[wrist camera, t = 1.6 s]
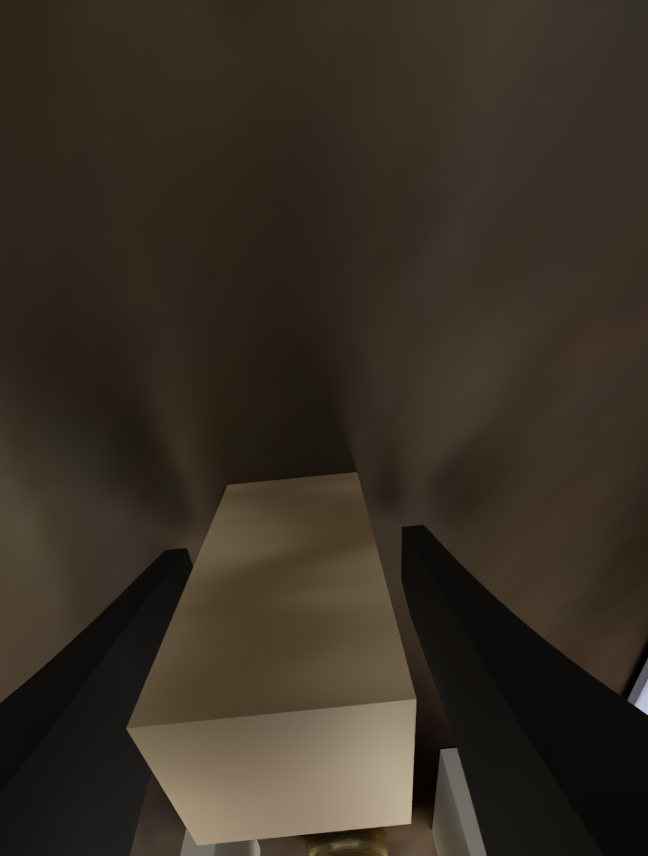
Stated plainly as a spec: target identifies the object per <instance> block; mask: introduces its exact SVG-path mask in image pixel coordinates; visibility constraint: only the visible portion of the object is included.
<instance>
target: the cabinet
mask: <svg viewBox="0 0 648 856" xmlns="http://www.w3.org/2000/svg"><path fill="white" fill-rule="evenodd" d="M432 834H433V838H434V842H435V847H436V851H437V856H487V855H486V851H485V848H484V844H483V840H482V837H481V833H480V830H479V826H478V822H477V819H476V815H475V811H474V808H473V804H472V800H471V797H470V793H469V789H468V786H467V782H466V779H465V775H464V772H463V768H462V765H461V761H460V758H459V754H458V751H457V748H450V749H440V759H439V768H438V778H437V787H436V797H435V806H434V815H433V825H432ZM180 856H260V846H259V844H258V842H257V839H256V840H246V841H236V842H227V843H217V844H207V845H197V844H196V842H195V841H194V839H193V838H192V836H191V834H190V833H189V831H188V829H187V828H186V832H185V837H184V841H183V845H182V850H181V854H180Z"/></svg>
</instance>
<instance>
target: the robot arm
mask: <svg viewBox="0 0 648 856" xmlns="http://www.w3.org/2000/svg"><path fill="white" fill-rule="evenodd" d="M192 569H193V565H192V562H191V559H190V556H189V553H188V550H187V548H184V549H174V550H165V551H164V552H163V553H162V554H161V555H160V556H159V557H158V558H157V559H156V560H155V561H154V562H153V563H152V564H151V565H150V566H149V567H148V568H147V569H146V570H145V571H144V572H143V573H142V574H141V575H140V576H139V577H138V578H137V579H136V580H135V581H134V582H133V583H132V584H131V585H130V586H129V587H128V588H127V589H126V590H125V591H124V592H123V593H122V594H121V595H120V596H119V597H118V598H117V599H116V600H115V601H113V602H112V603H111V604H110V605H109V606H108V607H107V608H106V609H105V610H104V611H103V612H102V613H101V614H100V615H99V616H98V617H97V618H96V619H95V620H94V621H93V622H92V623H91V624H90V625H89V626H87V627H86V628H85V629H84V630H83V631H82V632H81V633H80V634H79V635H78V636H77V637H76V638H74V639H73V640H72V641H71V642H70V643H69V644H68V645H67V646H66V647H65V648H64V649H63V650H61V651H60V652H59V653H58V654H57V655H56V656H55V657H54V658H53V659H52V660H51V661H49V662H48V663H47V664H46V665H45V666H44V667H43V668H41V669H40V670H39V671H38V672H37V673H36V674H35V675H33V676H32V677H31V678H30V679H29V680H28V681H26V682H25V683H24V684H23V685H22V686H20V687H19V688H18V689H17V690H16V691H14V692H13V693H12V694H11V695H10V696H8V697H7V698H6V699H5V700H4V701H2V702H1V703H0V856H130V852H131V848H132V843H133V839H134V835H135V831H136V827H137V823H138V819H139V815H140V811H141V807H142V804H143V800H144V796H145V792H146V788H147V785H148V781H149V777H150V773H151V768H150V767H149V765H148V764H147V762H146V760H145V759H144V757H143V755H142V754H141V752H140V750H139V749H138V747H137V745H136V744H135V742H134V741H133V739H132V737H131V736H130V734H129V732H128V731H127V729H126V728H127V725H128V723H129V721H130V718H131V716H132V713H133V711H134V709H135V706H136V704H137V701H138V699H139V697H140V694H141V692H142V689H143V687H144V685H145V682H146V680H147V677H148V675H149V673H150V670H151V668H152V665H153V663H154V661H155V658H156V656H157V653H158V651H159V649H160V646H161V644H162V641H163V639H164V637H165V634H166V632H167V629H168V627H169V624H170V622H171V620H172V617H173V615H174V612H175V610H176V608H177V605H178V603H179V600H180V598H181V596H182V593H183V591H184V588H185V586H186V584H187V581H188V579H189V576H190V574H191V572H192ZM401 580H402V584H403V588H404V592H405V596H406V600H407V604H408V607H409V611H410V615H411V618H412V621H413V624H414V627H415V629H416V632H417V635H418V638H419V640H420V643H421V646H422V649H423V652H424V654H425V657H426V660H427V662H428V665H429V668H430V671H431V673H432V676H433V679H434V682H435V684H436V687H437V690H438V692H439V695H440V698H441V701H442V703H443V706H444V709H445V712H446V715H447V718H448V721H449V724H450V727H451V730H452V733H453V737H454V740H455V744H456V747H457V751H458V754H459V758H460V761H461V765H462V768H463V772H464V775H465V779H466V782H467V786H468V789H469V793H470V797H471V800H472V804H473V808H474V811H475V815H476V819H477V822H478V826H479V830H480V833H481V837H482V840H483V844H484V848H485V851H486V855H487V856H648V658H647V660H646V662H645V664H644V666H643V668H642V671H641V673H640V675H639V677H638V679H637V681H636V683H635V685H634V687H633V689H632V691H631V693H630V695H629V697H628V699H627V700H626V699H624V698H623V697H621V696H620V695H618V694H617V693H616V692H614V691H613V690H611V689H610V688H608V687H607V686H606V685H604V684H603V683H601V682H600V681H598V680H597V679H596V678H594V677H593V676H592V675H590V674H589V673H588V672H586V671H585V670H584V669H582V668H581V667H580V666H578V665H577V664H576V663H574V662H573V661H572V660H570V659H569V658H568V657H566V656H565V655H564V654H562V653H561V652H560V651H559V650H557V649H556V648H555V647H554V646H552V645H551V644H550V643H549V642H547V641H546V640H545V639H543V638H542V637H541V636H540V635H539V634H537V633H536V632H535V631H534V630H533V629H531V628H530V627H529V626H528V625H527V624H525V623H524V622H523V621H522V620H521V619H520V618H518V617H517V616H516V615H515V614H514V613H513V612H512V611H510V610H509V609H508V608H507V607H506V606H505V605H504V604H502V603H501V602H500V601H499V600H498V599H497V598H496V597H495V596H494V595H493V594H491V593H490V592H489V591H488V590H487V589H486V588H485V587H484V586H483V585H482V584H481V583H480V582H479V581H478V580H477V579H476V578H475V577H474V576H473V575H472V574H471V573H469V572H468V571H467V570H466V569H465V568H464V567H463V566H462V565H461V564H460V563H459V562H458V561H457V560H456V559H455V557H454V556H453V555H452V554H451V553H450V552H449V551H448V550H447V549H446V548H445V547H444V546H443V545H442V544H441V543H440V542H439V541H438V540H437V539H436V537H435V536H434V535H433V534H432V533H431V532H430V531H429V530H428V529H427V528H426V527H425V526H424V525H417V526H407V527H402V571H401Z"/></svg>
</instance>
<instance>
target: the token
mask: <svg viewBox="0 0 648 856" xmlns="http://www.w3.org/2000/svg"><path fill="white" fill-rule="evenodd" d="M306 856H388V850H387V843H386V836H385V829H384V827H373V828H364V829H354V830H344V831H334V832H325V833H315V834H307V835H306Z"/></svg>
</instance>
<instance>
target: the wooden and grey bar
mask: <svg viewBox="0 0 648 856" xmlns="http://www.w3.org/2000/svg"><path fill="white" fill-rule="evenodd" d="M415 721H416V695H415V692H414V688H413V684H412V680H411V676H410V673H409V669H408V665H407V661H406V657H405V653H404V650H403V646H402V642H401V638H400V634H399V630H398V627H397V623H396V619H395V615H394V611H393V607H392V604H391V600H390V596H389V592H388V588H387V584H386V581H385V577H384V573H383V569H382V565H381V562H380V558H379V554H378V550H377V546H376V542H375V539H374V535H373V531H372V527H371V523H370V519H369V516H368V512H367V508H366V504H365V500H364V496H363V493H362V489H361V485H360V481H359V477H358V473H357V472H353V473H343V474H333V475H323V476H313V477H302V478H292V479H282V480H272V481H262V482H252V483H241V484H231V485H227V488H226V490H225V492H224V495H223V497H222V500H221V502H220V504H219V507H218V509H217V512H216V514H215V516H214V519H213V521H212V524H211V526H210V528H209V531H208V533H207V536H206V538H205V540H204V543H203V545H202V548H201V550H200V552H199V555H198V557H197V560H196V562H195V564H194V567H193V569H192V572H191V574H190V576H189V579H188V581H187V584H186V586H185V588H184V591H183V593H182V596H181V598H180V600H179V603H178V605H177V608H176V610H175V612H174V615H173V617H172V620H171V622H170V624H169V627H168V629H167V632H166V634H165V637H164V639H163V641H162V644H161V646H160V649H159V651H158V653H157V656H156V658H155V661H154V663H153V665H152V668H151V670H150V673H149V675H148V677H147V680H146V682H145V685H144V687H143V689H142V692H141V694H140V697H139V699H138V701H137V704H136V706H135V709H134V711H133V713H132V716H131V718H130V721H129V723H128V725H127V728H126V729H127V731H128V732H129V734H130V736H131V737H132V739H133V741H134V742H135V744H136V745H137V747H138V749H139V750H140V752H141V754H142V755H143V757H144V759H145V760H146V762H147V764H148V765H149V767H150V768H151V770H152V772H153V773H154V775H155V777H156V778H157V780H158V782H159V783H160V785H161V787H162V788H163V790H164V791H165V793H166V795H167V796H168V798H169V800H170V801H171V803H172V805H173V806H174V808H175V810H176V811H177V813H178V815H179V816H180V818H181V819H182V821H183V823H184V824H185V826H186V828H187V829H188V831H189V833H190V834H191V836H192V838H193V839H194V841H195V842H196V844H197V845H207V844H217V843H227V842H236V841H246V840H256V839H266V838H276V837H285V836H295V835H305V834H315V833H325V832H334V831H344V830H354V829H364V828H373V827H383V826H393V825H403V824H411V813H412V790H413V767H414V744H415Z"/></svg>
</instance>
